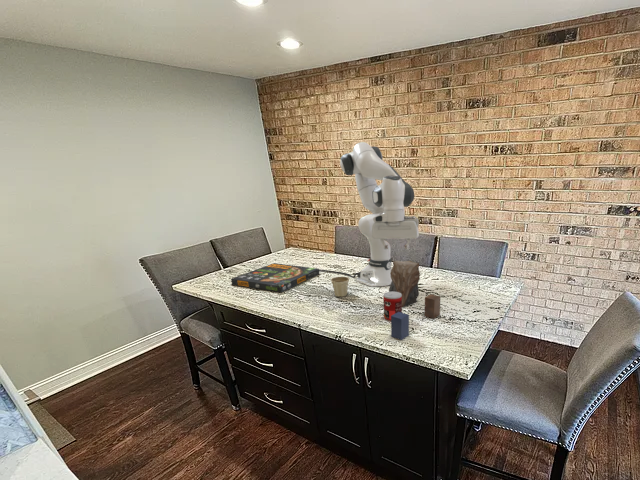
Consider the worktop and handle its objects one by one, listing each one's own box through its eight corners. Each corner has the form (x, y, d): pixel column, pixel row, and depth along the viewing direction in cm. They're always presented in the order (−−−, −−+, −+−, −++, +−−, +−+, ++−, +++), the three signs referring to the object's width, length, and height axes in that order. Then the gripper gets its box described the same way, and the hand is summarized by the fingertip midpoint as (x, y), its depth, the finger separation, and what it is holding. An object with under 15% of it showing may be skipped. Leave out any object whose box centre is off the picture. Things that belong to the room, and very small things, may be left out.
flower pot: (353, 292, 179) (352, 277, 175) (345, 299, 170) (343, 283, 167) (337, 291, 181) (336, 275, 178) (328, 297, 173) (327, 281, 170)
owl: (387, 299, 170) (387, 261, 162) (408, 294, 176) (409, 257, 168) (401, 307, 160) (401, 267, 152) (422, 302, 166) (423, 263, 158)
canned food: (383, 314, 153) (383, 291, 149) (401, 313, 154) (401, 291, 149) (384, 321, 146) (383, 297, 142) (402, 320, 146) (402, 297, 142)
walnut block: (424, 316, 151) (424, 297, 147) (430, 312, 155) (430, 294, 151) (433, 318, 148) (434, 299, 145) (439, 315, 152) (440, 296, 148)
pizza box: (232, 284, 192) (230, 278, 191) (274, 268, 222) (273, 263, 221) (281, 292, 180) (280, 286, 178) (319, 274, 210) (318, 268, 208)
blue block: (391, 336, 133) (390, 315, 130) (398, 331, 137) (398, 311, 133) (401, 340, 130) (401, 319, 127) (408, 335, 134) (409, 314, 131)
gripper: (420, 215, 142) (421, 247, 146) (374, 216, 147) (376, 247, 152) (417, 216, 136) (418, 250, 141) (369, 217, 141) (371, 250, 146)
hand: (396, 249), depth 146 cm, fingers open, 8 cm apart
